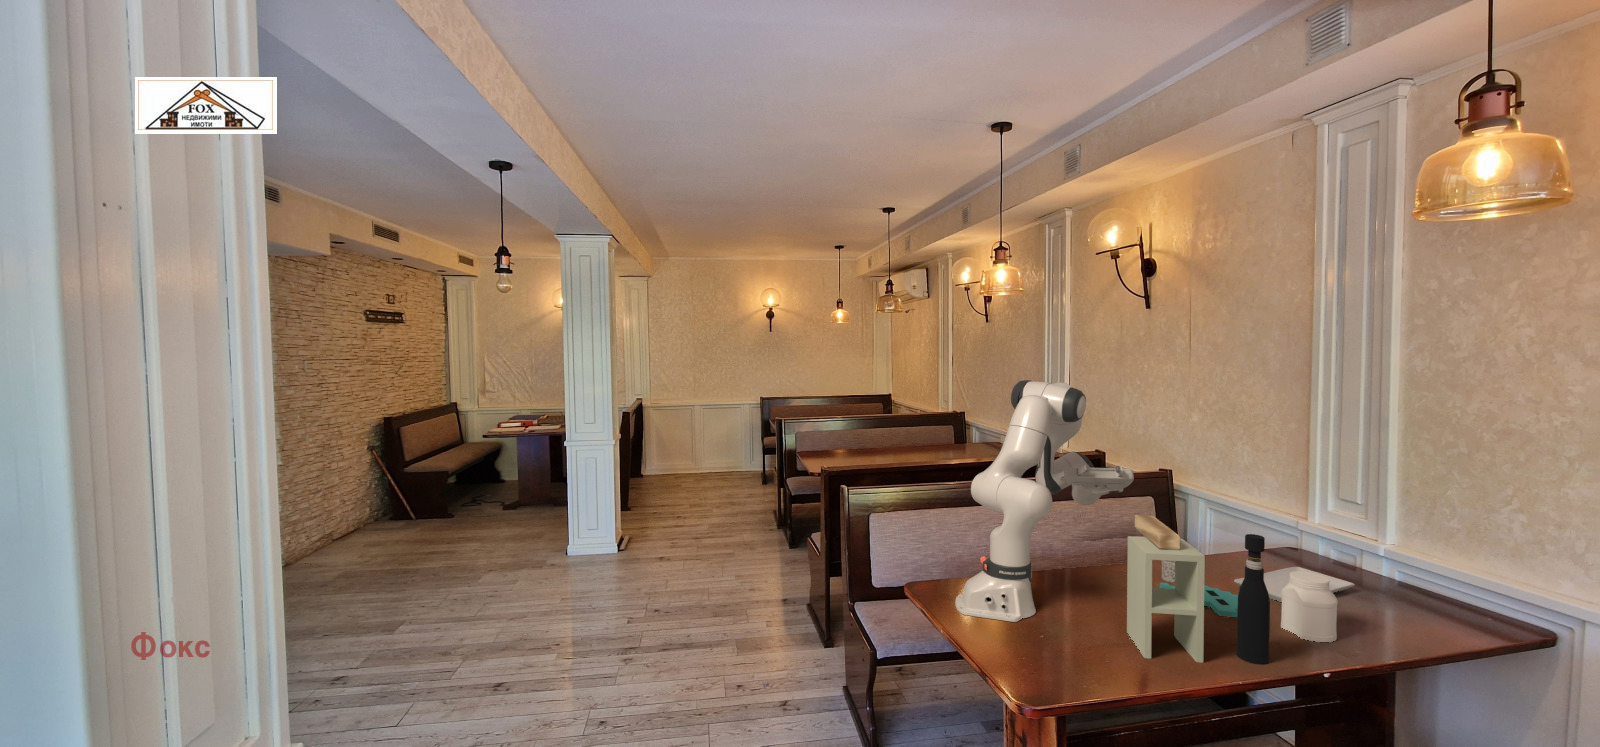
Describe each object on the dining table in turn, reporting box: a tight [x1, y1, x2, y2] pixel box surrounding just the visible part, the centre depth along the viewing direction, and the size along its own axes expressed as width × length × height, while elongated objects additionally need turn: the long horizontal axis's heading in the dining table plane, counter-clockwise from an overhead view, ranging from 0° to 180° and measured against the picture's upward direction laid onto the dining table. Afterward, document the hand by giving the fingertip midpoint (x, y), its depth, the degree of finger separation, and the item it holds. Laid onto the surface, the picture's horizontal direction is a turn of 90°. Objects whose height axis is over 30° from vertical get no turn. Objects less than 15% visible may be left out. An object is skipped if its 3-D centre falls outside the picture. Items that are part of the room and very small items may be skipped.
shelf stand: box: [1126, 535, 1206, 664], centre depth 160 cm, size 13×14×26 cm
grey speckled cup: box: [1160, 560, 1175, 584], centre depth 208 cm, size 10×7×7 cm
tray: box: [1233, 566, 1356, 603], centre depth 196 cm, size 17×31×4 cm, turn 112°
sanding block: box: [1134, 514, 1181, 550], centre depth 166 cm, size 4×19×4 cm, turn 169°
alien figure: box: [1159, 582, 1238, 617], centre depth 188 cm, size 20×2×20 cm
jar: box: [1280, 571, 1339, 643], centre depth 167 cm, size 12×10×15 cm
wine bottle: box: [1236, 533, 1271, 665], centre depth 154 cm, size 6×6×30 cm
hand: (1103, 468), depth 197 cm, fingers open, 8 cm apart
